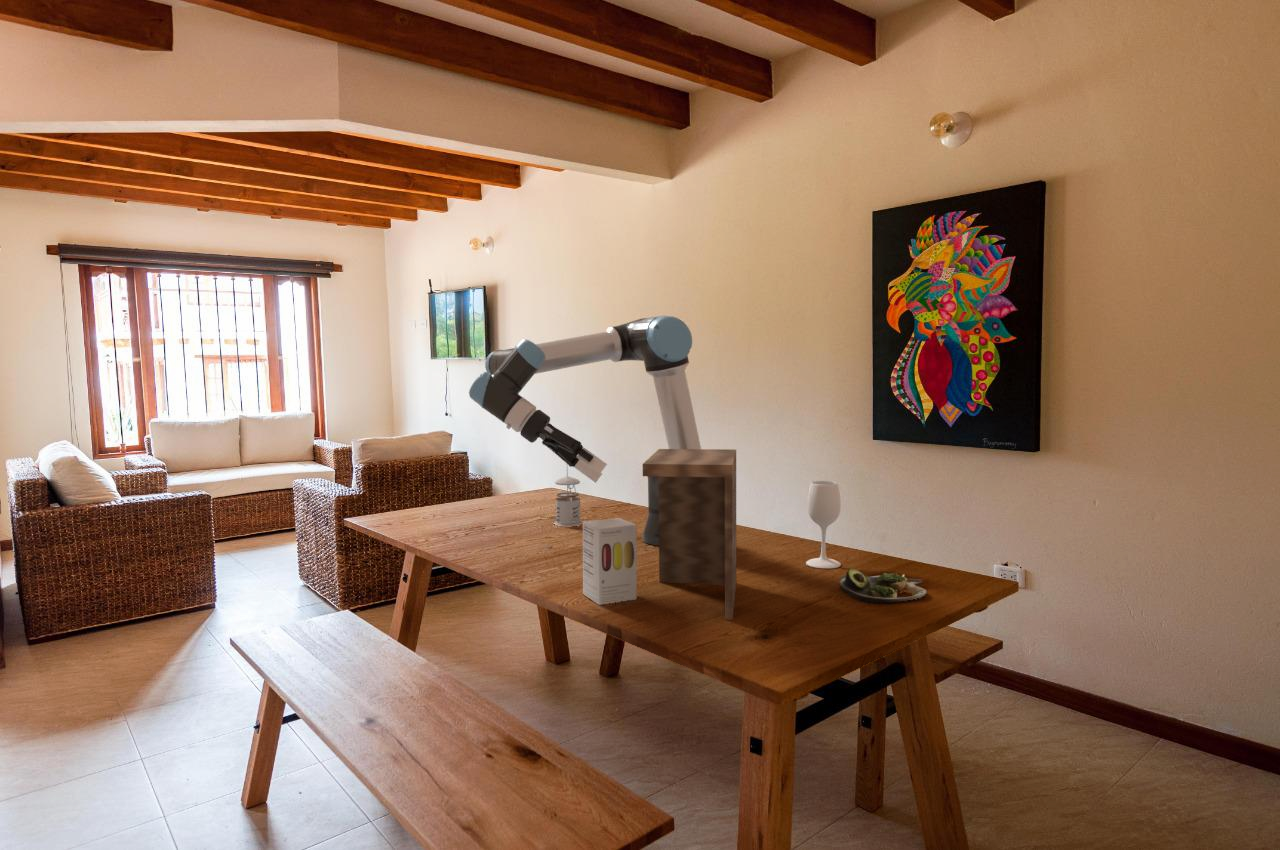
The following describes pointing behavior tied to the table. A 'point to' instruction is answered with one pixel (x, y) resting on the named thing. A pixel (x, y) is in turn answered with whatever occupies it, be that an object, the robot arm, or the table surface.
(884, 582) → the salad plate
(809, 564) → the wineglass
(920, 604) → the table surface
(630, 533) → the supplement box
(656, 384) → the robot arm
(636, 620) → the table surface
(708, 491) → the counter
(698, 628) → the table surface
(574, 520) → the french press
